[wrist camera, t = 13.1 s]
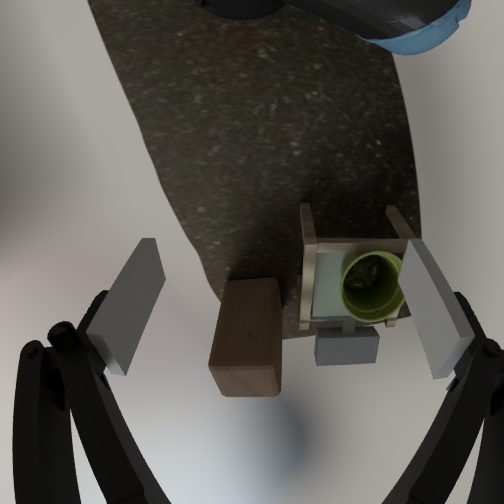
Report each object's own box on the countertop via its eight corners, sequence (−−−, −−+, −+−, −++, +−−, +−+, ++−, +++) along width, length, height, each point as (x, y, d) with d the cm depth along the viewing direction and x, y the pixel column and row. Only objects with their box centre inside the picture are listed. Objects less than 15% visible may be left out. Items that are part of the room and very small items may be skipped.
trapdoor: (312, 236, 47) (315, 240, 43) (388, 237, 45) (397, 241, 42) (307, 353, 50) (309, 365, 46) (375, 351, 49) (381, 362, 45)
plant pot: (383, 300, 45) (402, 322, 36) (326, 298, 46) (335, 321, 37) (391, 241, 43) (414, 253, 34) (332, 237, 44) (344, 248, 35)
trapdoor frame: (300, 202, 48) (305, 244, 38) (394, 205, 46) (421, 245, 37) (296, 281, 57) (299, 329, 47) (378, 280, 55) (394, 326, 46)
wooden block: (277, 274, 56) (274, 365, 40) (282, 312, 62) (281, 398, 46) (224, 278, 58) (205, 366, 42) (235, 315, 64) (221, 399, 47)
